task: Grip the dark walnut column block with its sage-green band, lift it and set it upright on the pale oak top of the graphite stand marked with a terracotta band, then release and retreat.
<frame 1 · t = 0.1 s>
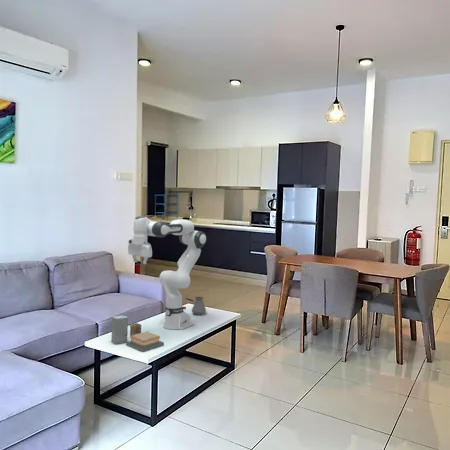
hand: (139, 263, 266), 48 cm above the table, fingers open, 8 cm apart
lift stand: (145, 345, 252), on the table
coffee pot: (194, 315, 323), on the table
walnut column: (135, 336, 268), on the table
skincare box: (119, 342, 257), on the table
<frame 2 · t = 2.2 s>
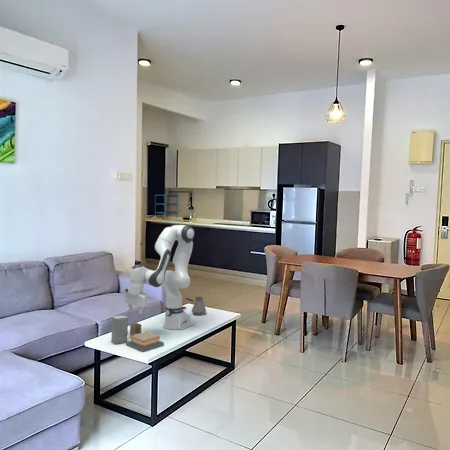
hand: (135, 311, 267), 16 cm above the table, fingers open, 8 cm apart
nothing on the table moved.
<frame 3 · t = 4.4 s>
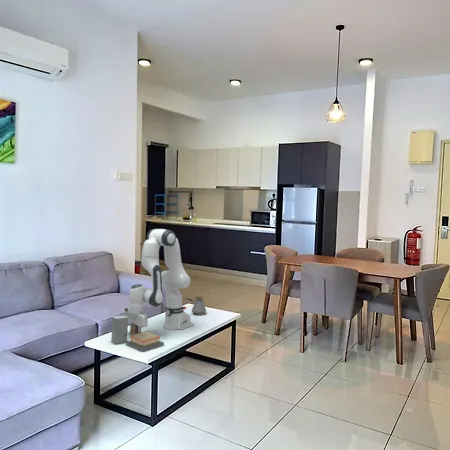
hand: (135, 331, 268), 4 cm above the table, fingers closed on walnut column, 5 cm apart
walnut column: (135, 336, 268), on the table, touching gripper
everything else where it was.
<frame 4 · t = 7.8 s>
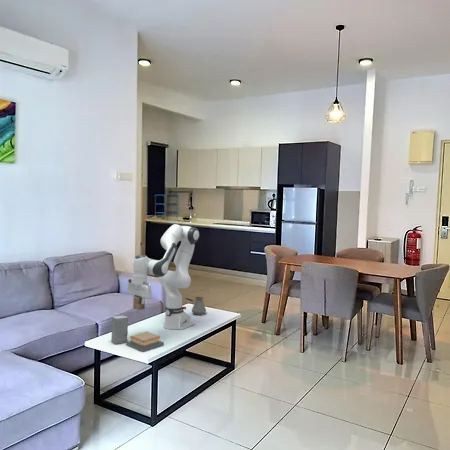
hand: (139, 302, 261), 24 cm above the table, fingers closed on walnut column, 5 cm apart
walnut column: (138, 308, 261), point 20 cm above the table, touching gripper
everything else where it was.
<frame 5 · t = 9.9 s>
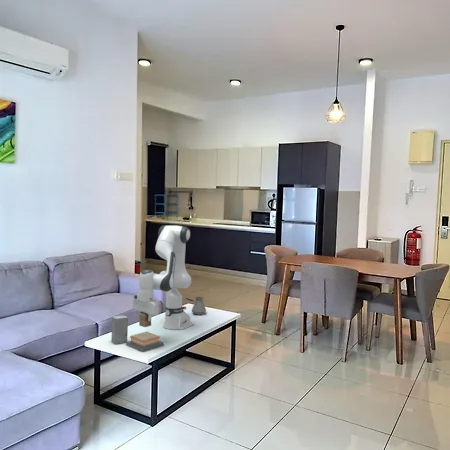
hand: (145, 319, 251), 16 cm above the table, fingers closed on walnut column, 5 cm apart
walnut column: (145, 325, 252), point 12 cm above the table, touching gripper
everything else where it was.
when the fingers open (11 cm above the table, at t = 11.6 s): walnut column drops 1 cm, resting on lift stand.
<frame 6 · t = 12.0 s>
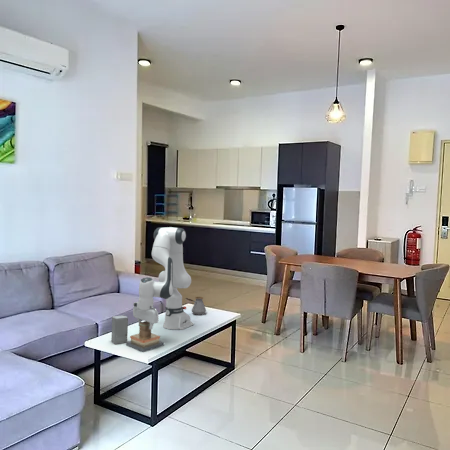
hand: (145, 327, 252), 11 cm above the table, fingers open, 8 cm apart
walnut column: (145, 335, 252), point 6 cm above the table, touching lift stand
everything else where it was.
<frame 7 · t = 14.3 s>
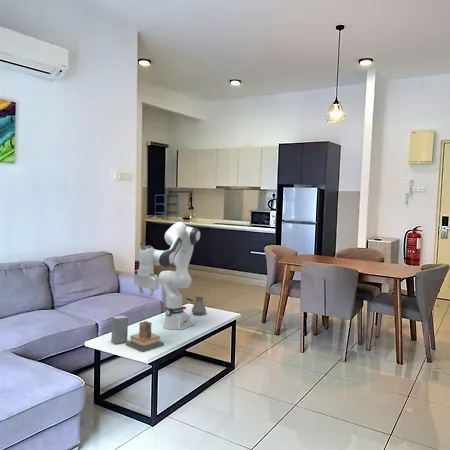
hand: (146, 294, 256), 30 cm above the table, fingers open, 8 cm apart
nothing on the table moved.
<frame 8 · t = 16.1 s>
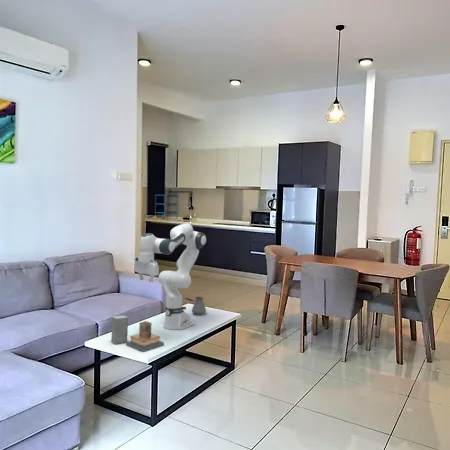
hand: (146, 280, 263), 37 cm above the table, fingers open, 8 cm apart
nothing on the table moved.
at the end: walnut column inside the target area on the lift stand (0.0 cm from its centre), point 6.0 cm above the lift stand's base; walnut column tilted 0°; the gripper is holding nothing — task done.
